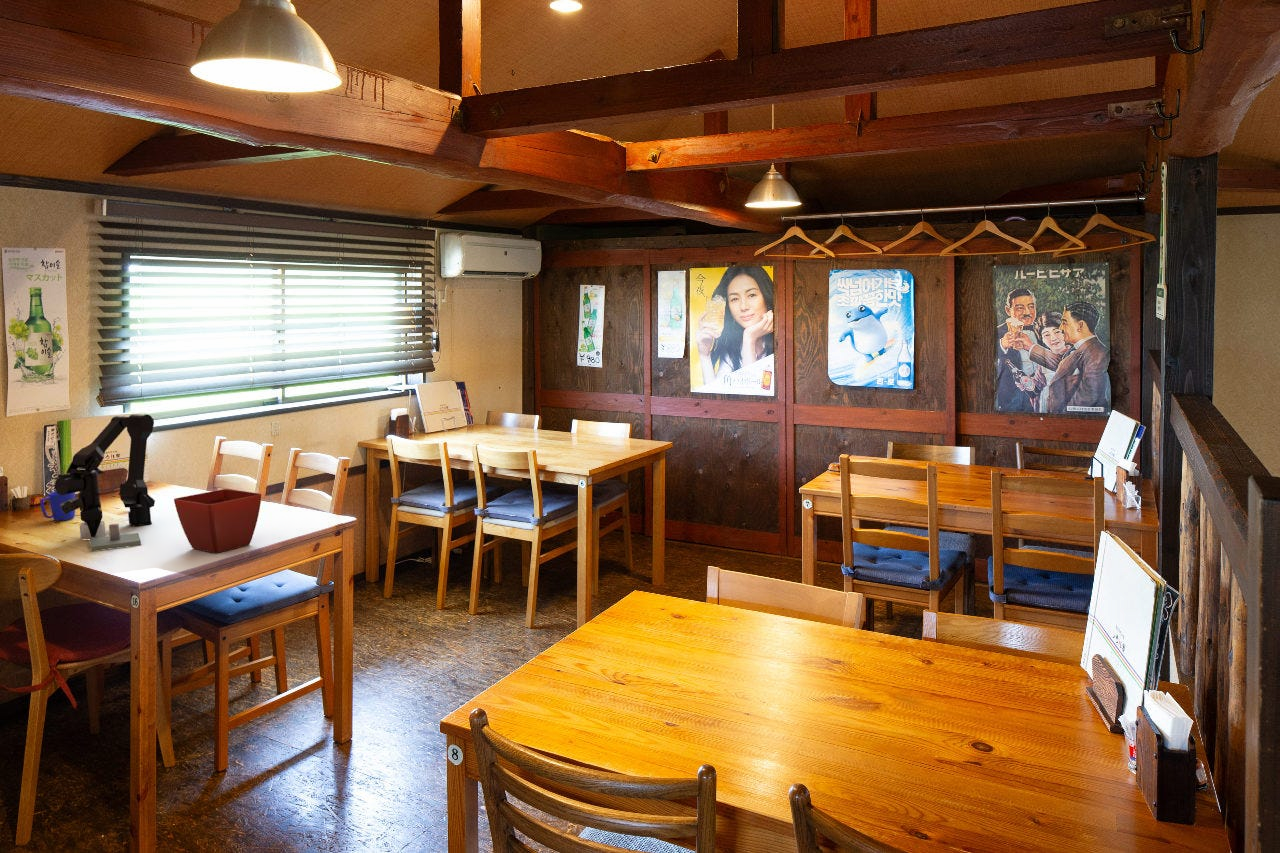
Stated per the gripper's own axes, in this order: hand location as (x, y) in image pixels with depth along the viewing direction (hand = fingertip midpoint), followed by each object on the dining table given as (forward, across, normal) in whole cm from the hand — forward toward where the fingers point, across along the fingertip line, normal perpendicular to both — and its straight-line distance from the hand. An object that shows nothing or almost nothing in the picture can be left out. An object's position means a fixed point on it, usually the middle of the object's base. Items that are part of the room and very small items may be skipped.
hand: (93, 534), depth 307 cm
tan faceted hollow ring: (+1, 0, 0) cm, 1 cm away
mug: (+1, -36, -10) cm, 37 cm away
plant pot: (+1, +37, +35) cm, 51 cm away
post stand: (+1, +14, +6) cm, 15 cm away
